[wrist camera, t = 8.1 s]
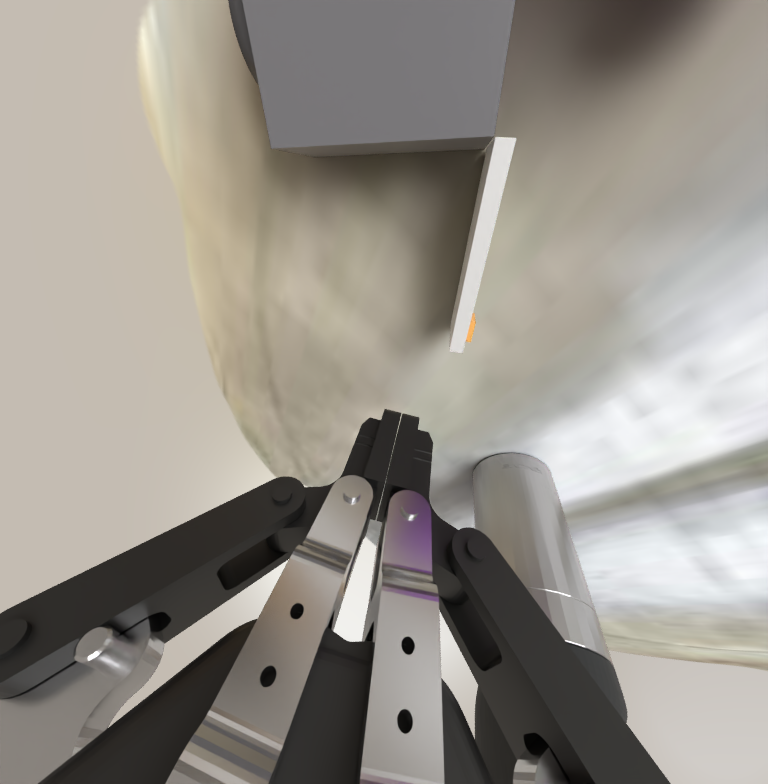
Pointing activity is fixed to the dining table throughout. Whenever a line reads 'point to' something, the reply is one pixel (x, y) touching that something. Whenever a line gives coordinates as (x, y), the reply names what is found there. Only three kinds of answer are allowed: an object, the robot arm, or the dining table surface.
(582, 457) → the dining table surface
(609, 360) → the dining table surface
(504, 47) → the camera case
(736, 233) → the dining table surface
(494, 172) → the side door
